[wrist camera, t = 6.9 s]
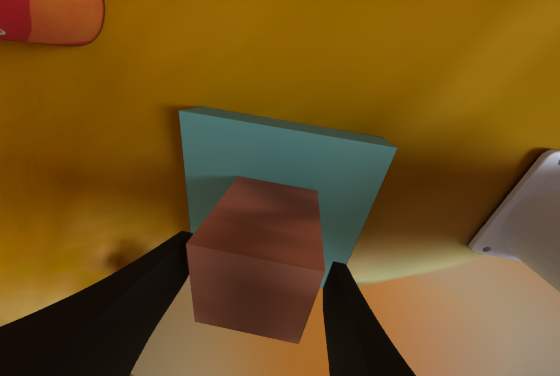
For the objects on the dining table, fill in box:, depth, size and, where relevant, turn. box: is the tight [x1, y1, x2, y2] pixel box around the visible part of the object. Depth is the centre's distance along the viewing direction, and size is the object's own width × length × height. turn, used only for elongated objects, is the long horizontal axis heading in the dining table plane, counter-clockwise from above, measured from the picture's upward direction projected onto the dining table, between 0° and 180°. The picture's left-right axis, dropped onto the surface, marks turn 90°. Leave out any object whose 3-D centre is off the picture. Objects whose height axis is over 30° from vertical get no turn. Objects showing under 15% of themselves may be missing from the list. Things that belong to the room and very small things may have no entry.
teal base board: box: [179, 106, 397, 288], centre depth 15 cm, size 12×12×3 cm
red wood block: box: [186, 176, 325, 344], centre depth 11 cm, size 5×5×6 cm
